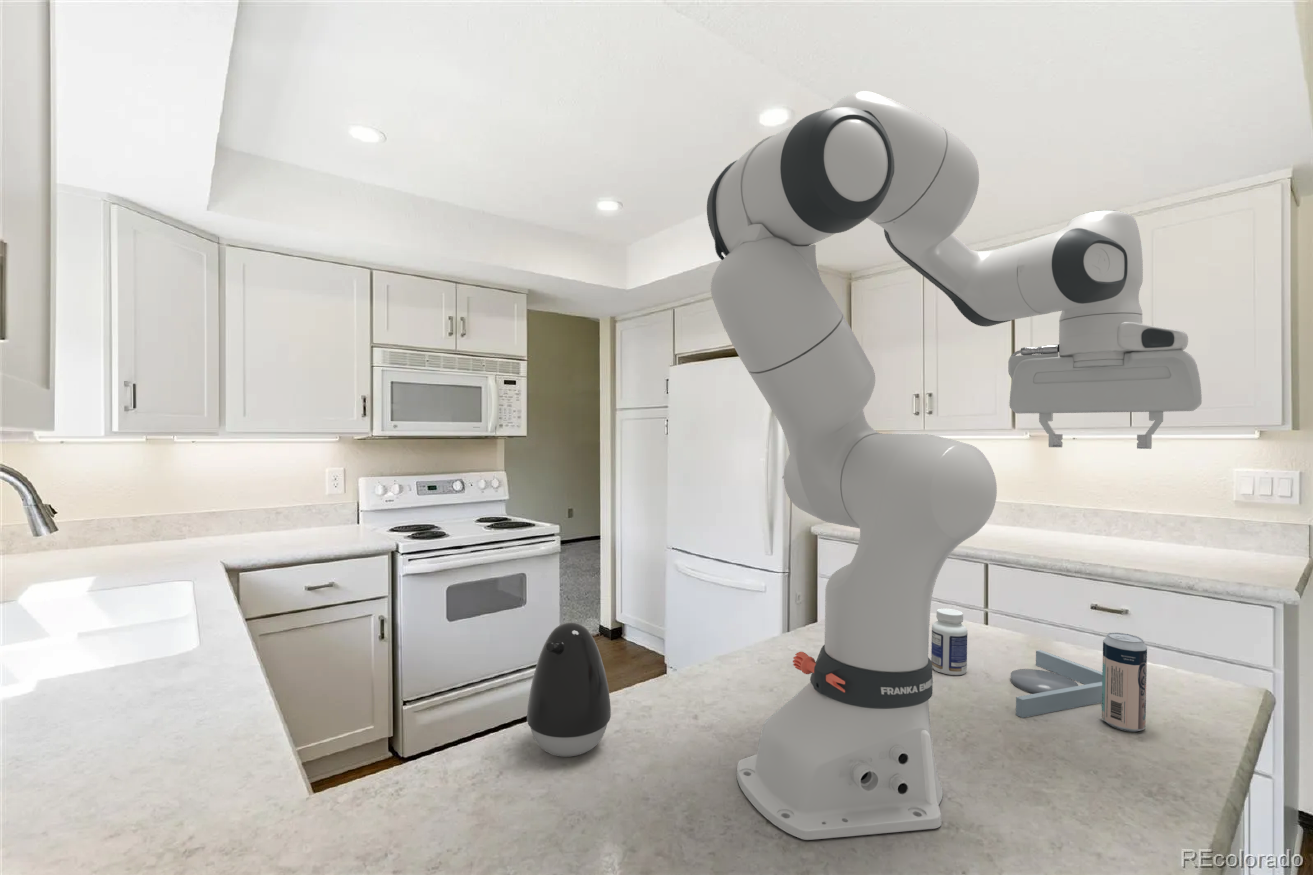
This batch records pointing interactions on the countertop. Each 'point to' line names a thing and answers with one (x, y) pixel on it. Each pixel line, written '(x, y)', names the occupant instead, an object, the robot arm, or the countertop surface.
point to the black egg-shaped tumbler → (569, 693)
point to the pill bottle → (949, 643)
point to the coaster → (1039, 680)
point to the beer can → (1124, 682)
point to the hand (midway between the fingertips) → (1098, 448)
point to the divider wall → (1062, 697)
